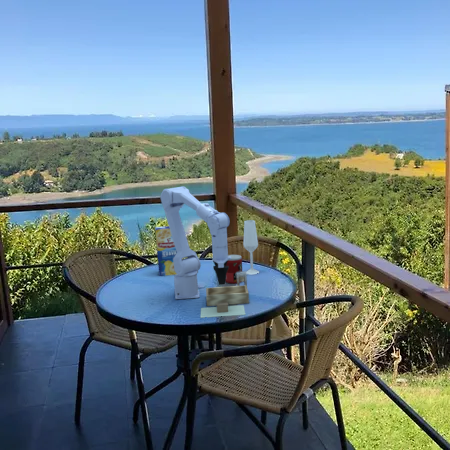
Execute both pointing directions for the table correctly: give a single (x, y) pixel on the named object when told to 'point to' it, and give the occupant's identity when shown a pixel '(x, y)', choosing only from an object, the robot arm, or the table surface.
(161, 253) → the beverage box
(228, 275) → the canned food
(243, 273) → the bolt keeper
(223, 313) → the lid
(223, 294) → the wooden tray
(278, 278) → the table surface
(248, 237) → the champagne flute
